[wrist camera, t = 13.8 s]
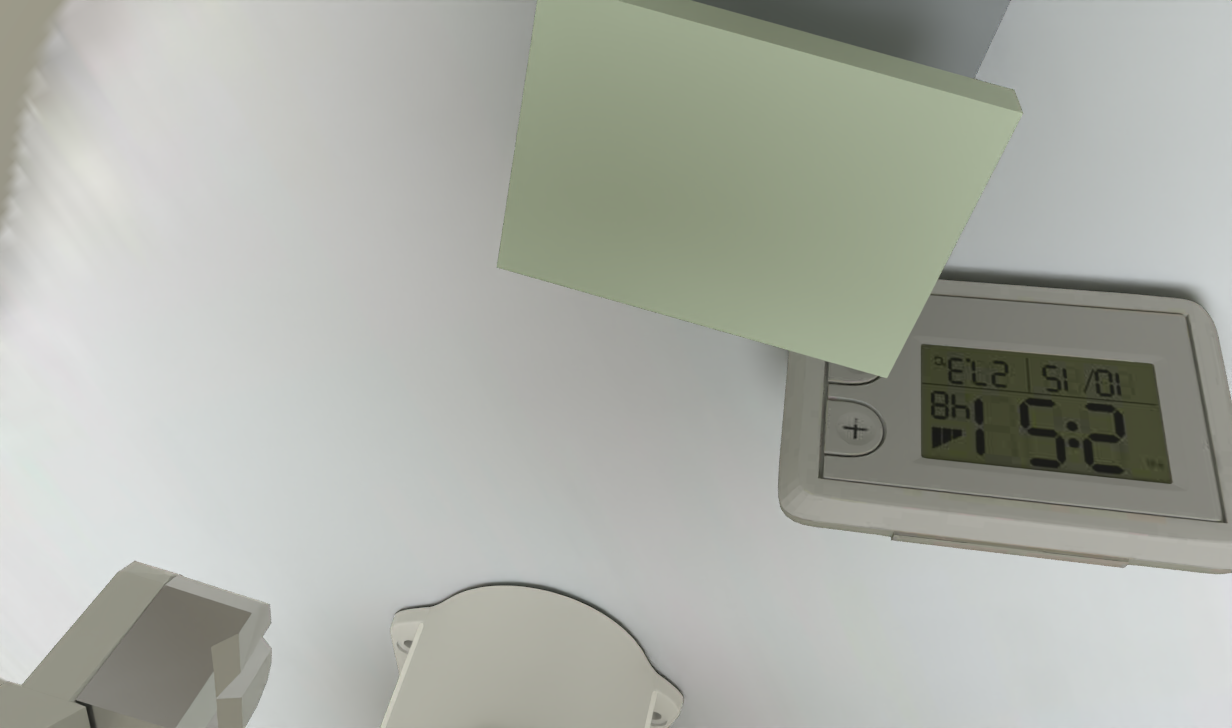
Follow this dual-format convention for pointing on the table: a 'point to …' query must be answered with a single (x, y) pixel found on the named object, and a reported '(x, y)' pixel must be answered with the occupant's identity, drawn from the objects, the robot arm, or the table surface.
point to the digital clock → (1025, 431)
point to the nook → (757, 161)
